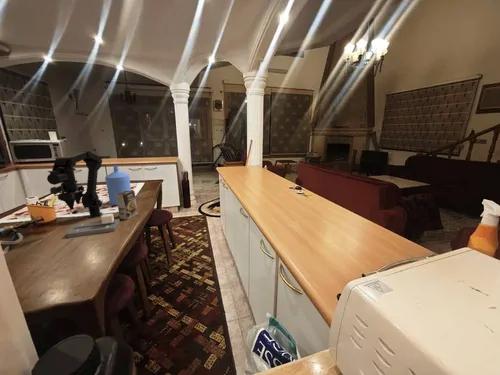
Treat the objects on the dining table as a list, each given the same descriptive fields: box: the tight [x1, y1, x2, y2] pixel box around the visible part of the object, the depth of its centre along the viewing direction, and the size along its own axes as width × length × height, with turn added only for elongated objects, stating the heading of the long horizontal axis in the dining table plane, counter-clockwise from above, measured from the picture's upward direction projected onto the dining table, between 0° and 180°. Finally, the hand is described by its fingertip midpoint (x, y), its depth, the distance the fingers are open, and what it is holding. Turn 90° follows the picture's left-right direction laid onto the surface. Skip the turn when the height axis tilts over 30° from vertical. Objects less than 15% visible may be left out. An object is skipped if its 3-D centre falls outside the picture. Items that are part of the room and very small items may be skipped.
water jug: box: [104, 165, 132, 206], centre depth 164 cm, size 16×16×28 cm
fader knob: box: [100, 213, 115, 224], centre depth 125 cm, size 4×5×5 cm
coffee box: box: [116, 190, 138, 220], centre depth 139 cm, size 9×6×16 cm
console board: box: [65, 218, 120, 238], centre depth 123 cm, size 13×22×2 cm, turn 110°
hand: (75, 206), depth 125 cm, fingers open, 9 cm apart
